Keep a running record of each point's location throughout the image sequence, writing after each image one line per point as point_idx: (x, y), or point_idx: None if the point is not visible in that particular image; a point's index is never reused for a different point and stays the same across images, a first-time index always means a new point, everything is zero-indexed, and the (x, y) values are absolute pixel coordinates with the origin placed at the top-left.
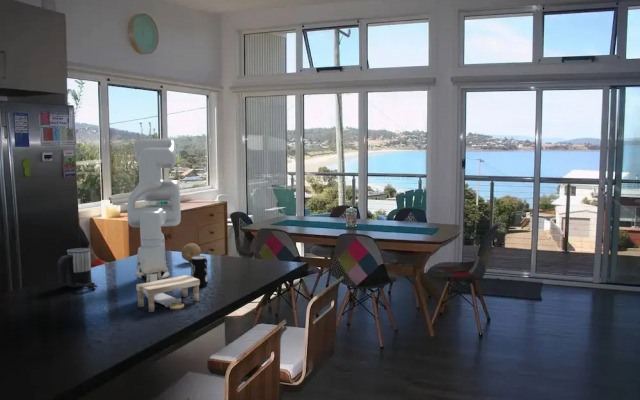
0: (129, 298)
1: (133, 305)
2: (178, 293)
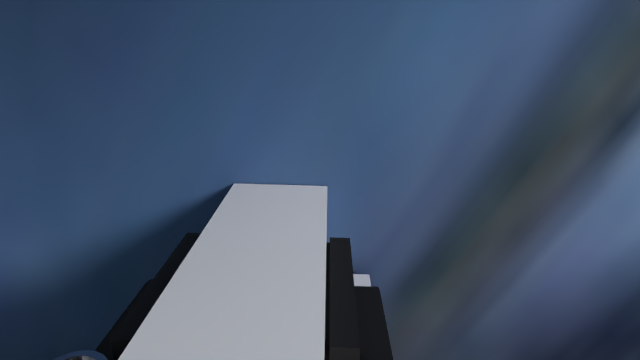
0: (33, 122)
1: (20, 354)
2: (532, 321)
